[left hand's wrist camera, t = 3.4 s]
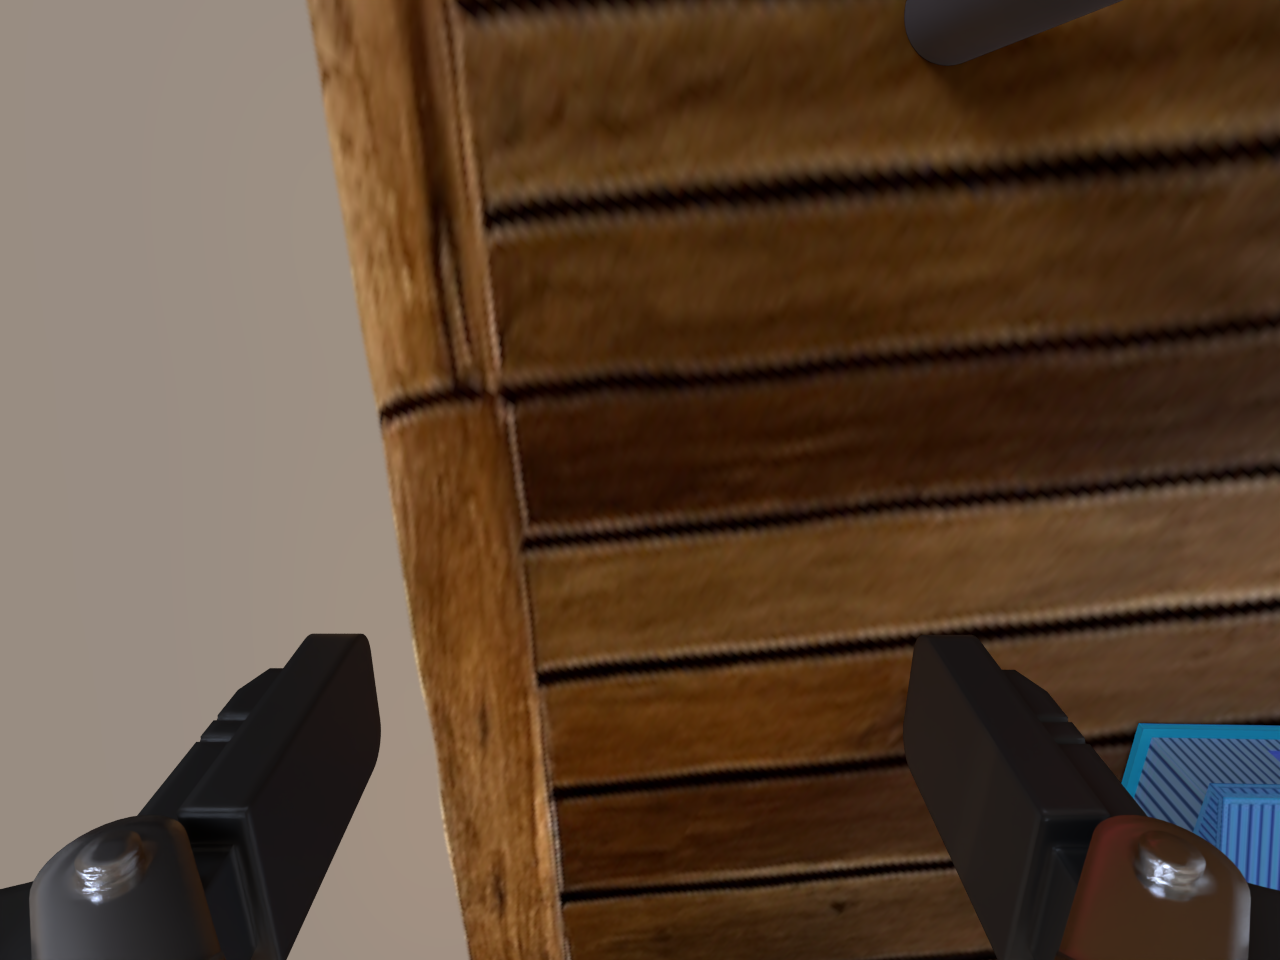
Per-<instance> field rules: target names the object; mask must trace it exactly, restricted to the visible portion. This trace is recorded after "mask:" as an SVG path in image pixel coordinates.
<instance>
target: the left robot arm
mask: <svg viewBox="0 0 1280 960" xmlns="http://www.w3.org/2000/svg"><path fill="white" fill-rule="evenodd" d="M380 738H381V724H380V715H379V708H378V701H377V693H376V686H375V679H374V672H373V664H372V657H371V650H370V645H369V641H368V639H367V637H366V636H365V635H364V634H310V635H309V636H307V637H306V639H305V640H304V641H303V643H302V644H301V645H300V647H299V648H298V649H297V651H296V652H295V653H294V655H293V656H292V657H291V659H290V660H289V661H288V663H287V664H286V665H285V667H284V668H270V669H268V670H267V671H265V672H264V673H262V674H261V675H259V676H258V677H256V678H255V679H254V680H252V681H251V682H249V683H248V684H246V685H245V686H243V687H242V688H240V689H239V690H238V691H237V692H236V693H235V694H234V696H233V697H232V698H231V699H230V701H229V702H228V703H227V704H226V706H225V707H224V708H223V709H222V711H221V712H220V713H219V714H218V719H217V720H214V721H213V722H212V723H211V724H210V726H209V727H208V728H207V729H206V731H205V732H204V733H203V734H202V736H201V740H200V742H196V743H195V744H194V745H193V747H192V748H191V749H190V751H189V752H188V753H187V754H186V756H185V757H184V758H183V759H182V760H181V762H180V763H179V764H178V766H177V767H176V768H175V769H174V770H173V772H172V773H171V774H170V775H169V777H168V778H167V779H166V780H165V782H164V783H163V784H162V785H161V787H160V788H159V789H158V790H157V792H156V793H155V794H154V795H153V797H152V798H151V799H150V800H149V802H148V803H147V804H146V805H145V807H144V808H143V809H142V810H141V812H140V813H139V814H138V815H137V816H133V817H128V818H124V819H120V820H117V821H114V822H111V823H108V824H105V825H103V826H100V827H98V828H96V829H93V830H91V831H89V832H88V833H86V834H84V835H82V836H80V837H78V838H77V839H75V840H74V841H72V842H71V843H69V844H68V845H66V846H65V847H64V848H63V849H61V850H60V851H59V852H57V853H56V854H55V855H54V856H53V857H52V858H51V859H50V860H49V861H48V862H47V863H46V864H45V865H44V867H43V868H42V869H41V870H40V871H39V873H38V875H37V876H36V878H35V880H34V881H32V882H29V883H25V884H21V885H16V886H12V887H8V888H4V889H0V960H286V959H287V957H288V955H289V953H290V951H291V948H292V946H293V944H294V942H295V940H296V938H297V935H298V933H299V931H300V929H301V927H302V924H303V922H304V920H305V918H306V916H307V914H308V911H309V909H310V907H311V905H312V903H313V900H314V898H315V896H316V894H317V892H318V890H319V887H320V885H321V883H322V881H323V879H324V877H325V874H326V872H327V870H328V868H329V865H330V863H331V861H332V859H333V857H334V855H335V852H336V850H337V848H338V846H339V844H340V842H341V839H342V837H343V835H344V833H345V831H346V829H347V826H348V824H349V822H350V820H351V818H352V815H353V813H354V811H355V809H356V807H357V805H358V802H359V800H360V798H361V796H362V794H363V791H364V789H365V787H366V785H367V783H368V780H369V778H370V776H371V774H372V772H373V770H374V767H375V764H376V761H377V758H378V753H379V747H380ZM903 740H904V749H905V755H906V759H907V763H908V766H909V769H910V771H911V773H912V776H913V778H914V780H915V782H916V784H917V786H918V788H919V791H920V793H921V795H922V797H923V799H924V801H925V804H926V806H927V808H928V810H929V812H930V814H931V816H932V819H933V821H934V823H935V825H936V827H937V829H938V832H939V834H940V836H941V838H942V840H943V842H944V844H945V847H946V849H947V851H948V853H949V855H950V857H951V860H952V862H953V864H954V866H955V868H956V870H957V872H958V875H959V877H960V879H961V881H962V883H963V885H964V888H965V890H966V892H967V894H968V896H969V898H970V900H971V903H972V905H973V907H974V909H975V911H976V913H977V916H978V918H979V920H980V922H981V924H982V926H983V928H984V931H985V933H986V935H987V937H988V939H989V941H990V944H991V946H992V948H993V950H994V952H995V954H996V956H997V959H998V960H1280V891H1279V890H1275V889H1271V888H1267V887H1262V886H1258V885H1255V884H1251V883H1248V882H1247V881H1246V880H1245V878H1244V876H1243V875H1242V873H1241V871H1240V870H1239V869H1238V868H1237V867H1236V865H1235V864H1234V863H1233V862H1232V861H1231V860H1230V859H1229V858H1228V857H1227V856H1226V855H1225V854H1224V853H1223V852H1221V851H1220V850H1219V849H1217V848H1216V847H1215V846H1214V845H1212V844H1211V843H1209V842H1208V841H1206V840H1205V839H1203V838H1202V837H1200V836H1198V835H1196V834H1194V833H1192V832H1191V831H1189V830H1187V829H1184V828H1182V827H1180V826H1177V825H1175V824H1172V823H1169V822H1166V821H1164V820H1160V819H1156V818H1152V817H1148V816H1147V815H1146V813H1145V812H1144V811H1143V810H1142V808H1141V807H1140V806H1139V805H1138V804H1137V802H1136V801H1135V800H1134V799H1133V797H1132V796H1131V795H1130V794H1129V792H1128V791H1127V790H1126V789H1125V787H1124V786H1123V785H1122V784H1121V783H1120V781H1119V780H1118V779H1117V778H1116V776H1115V775H1114V774H1113V773H1112V771H1111V770H1110V769H1109V768H1108V766H1107V765H1106V764H1105V763H1104V761H1103V760H1102V759H1101V758H1100V757H1099V755H1098V754H1097V753H1096V752H1095V750H1094V749H1093V748H1092V747H1091V745H1090V744H1086V743H1085V738H1084V737H1083V736H1082V734H1081V733H1080V732H1079V731H1078V729H1077V728H1076V727H1075V726H1074V724H1073V723H1072V722H1068V717H1067V716H1066V715H1065V713H1064V712H1063V711H1062V710H1061V708H1060V707H1059V706H1058V705H1057V703H1056V702H1055V701H1054V700H1053V698H1052V697H1051V696H1050V695H1049V694H1048V692H1047V691H1045V690H1044V689H1042V688H1041V687H1039V686H1038V685H1036V684H1035V683H1033V682H1032V681H1030V680H1029V679H1028V678H1026V677H1025V676H1023V675H1022V674H1020V673H1019V672H1017V671H1016V670H1001V668H1000V667H999V666H998V664H997V663H996V662H995V660H994V659H993V658H992V656H991V655H990V654H989V652H988V651H987V650H986V648H985V647H984V646H983V644H982V643H981V642H980V640H979V639H978V638H977V637H975V636H973V635H921V636H920V637H918V639H917V641H916V643H915V647H914V652H913V659H912V666H911V673H910V680H909V688H908V695H907V702H906V709H905V716H904V725H903Z"/></svg>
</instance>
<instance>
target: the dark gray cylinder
mask: <svg viewBox="0 0 1280 960" xmlns="http://www.w3.org/2000/svg"><path fill="white" fill-rule="evenodd" d="M1120 1H1122V0H907V2H906V6H905V28H906V32H907V35H908V38H909V40H910V42H911V44H912V46H913V47H914V49H915V50H916V51H917V52H918V54H919V55H921V56H922V57H923V58H924V59H926V60H928V61H930V62H932V63H935V64H938V65H947V66H949V65H956V64H961V63H963V62H966V61H969V60H971V59H974V58H976V57H979V56H981V55H984V54H986V53H989V52H992V51H994V50H997V49H999V48H1002V47H1004V46H1007V45H1010V44H1012V43H1015V42H1017V41H1020V40H1022V39H1025V38H1027V37H1030V36H1033V35H1035V34H1038V33H1040V32H1043V31H1045V30H1048V29H1050V28H1053V27H1056V26H1058V25H1061V24H1063V23H1066V22H1068V21H1071V20H1073V19H1076V18H1079V17H1081V16H1084V15H1086V14H1089V13H1091V12H1094V11H1096V10H1099V9H1102V8H1104V7H1107V6H1109V5H1112V4H1114V3H1117V2H1120Z"/></svg>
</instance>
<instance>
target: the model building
mask: <svg viewBox="0 0 1280 960" xmlns="http://www.w3.org/2000/svg"><path fill="white" fill-rule="evenodd" d="M1121 784H1122V785H1123V786H1124V787H1125V789H1126V790H1127V791H1128V792H1129V794H1130V795H1131V796H1132V797H1133V799H1134V800H1135V801H1136V802H1137V804H1138V805H1139V806H1140V807H1141V808H1142V810H1143V811H1144V812H1145V813H1146V815H1147V816H1148V817H1152V818H1156V819H1160V820H1164V821H1166V822H1169V823H1172V824H1175V825H1177V826H1180V827H1182V828H1184V829H1187V830H1189V831H1191V832H1192V833H1194V834H1196V835H1198V836H1200V837H1202V838H1203V839H1205V840H1206V841H1208V842H1209V843H1211V844H1212V845H1214V846H1215V847H1216V848H1217V849H1219V850H1220V851H1221V852H1223V853H1224V854H1225V855H1226V856H1227V857H1228V858H1229V859H1230V860H1231V861H1232V862H1233V863H1234V864H1235V865H1236V867H1237V868H1238V869H1239V870H1240V871H1241V873H1242V875H1243V876H1244V878H1245V880H1246V881H1247V882H1248V883H1251V884H1255V885H1258V886H1262V887H1267V888H1271V889H1275V890H1279V891H1280V726H1272V725H1212V724H1152V723H1139V724H1138V727H1137V731H1136V734H1135V738H1134V741H1133V745H1132V748H1131V752H1130V755H1129V759H1128V762H1127V766H1126V769H1125V773H1124V776H1123V780H1122V783H1121Z"/></svg>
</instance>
